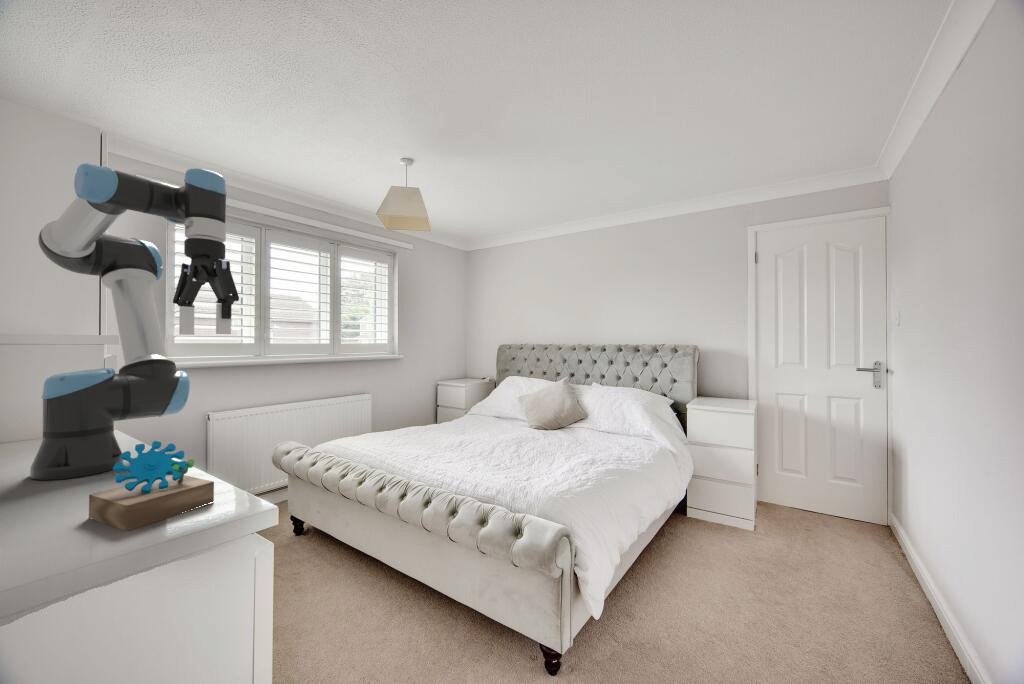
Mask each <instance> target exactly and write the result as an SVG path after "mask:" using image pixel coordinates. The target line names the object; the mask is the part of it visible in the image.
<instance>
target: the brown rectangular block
mask: <svg viewBox="0 0 1024 684" xmlns="http://www.w3.org/2000/svg"><path fill="white" fill-rule="evenodd" d="M172 476H173V475H166V476H165V478H166V480H167V481H168V483H169V484H168V487H167V488H164V489H159V483H160V482H161V481H162V480H160V479H158V480H156V481H155V482H154V483H153V484H152V486H151V491H150V492H149V493H144V492H141V487H142V486H143V485H145V484H148V483H147V482H146V481H145V482H143V483H140V484H138V485H137V486H136V487H135V488H134V489H133V490H132V491H128V490H127V489H126V488H125V485H123V486H119V487H118V486H117V487H114V488H110V489H106V490H102V491H101V490H100V491H98V492H94V493H89V495H88V519H90V518H92V519H91V520H93V519H94V520H93V521H96V520H97V521H96V522H99V523H102V524H105V525H106V526H107V525H108V526H111V527H113V528H116V529H119V530H122V531H125V532H128V531H131V530H135V529H137V528H141V527H143V526H147V525H150V524H153V523H157V522H159V521H163V520H165V519H166V520H167V519H169V518H172V517H175V516H174V515H176V516H178V515H177V514H179V515H181V514H180V513H182V512H185V511H188V510H191V509H194V508H196V507H199V506H202V505H204V504H208V503H210V502H213V501H214V502H215V482H214V481H213V480H210V479H209V480H207V479H204V478H199V477H195V476H190V475H187V474H186V475H185V474H184V478H183V479H178V480H176V481H174V480H173V479H172ZM194 510H195V509H194ZM191 511H192V510H191ZM188 512H189V511H188ZM185 513H186V512H185ZM182 514H183V513H182ZM171 516H172V517H171Z"/></svg>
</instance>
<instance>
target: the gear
mask: <svg viewBox="0 0 1024 684" xmlns="http://www.w3.org/2000/svg"><path fill="white" fill-rule="evenodd" d="M161 447H162V441H158V440H153V441H152V444H151V448H150V449H149V450H148V451H147V452H143V451H144V450H145V448H146V445H145V444H144V443H139V444H136V445H135V447H134V450H135V452H136V453H137V456H136V457H131V451H130V450H127V451H124V452H122V454H121V459H122V460H123V461H127V462H128V463H129V464H130V465H128V466H126V465H125V464H124V462H123V463H121V462H117V463H116V464H115V465H114V467H113V469H112V471H114V472H121V471H122V472H127V473H128V474H124V473H117V474H115V483H116V484H120V483H122V482H125V481H128V480H135V481H128V482H126V483H125V484H124V486H125V488H126V489H127V490H128V491H132V490H133V489H134V488H135V487H136V486H137V485H138V484H140V483H143V482H145V481H146V482H147V483H148V484H145V485H143V486H142V487H141V492H144V493H149V492H150V491H151V486H152V484H153V483H154V482H155V481H156V480H158V479H160V480H162V481H161V482H160V483H159V489H164V488H167V487H168V484H169V483H168V481H167V480H166V478H165V476H168V475H173V476H172V479H173V480H174V481H176V480H178V479H183V478H184V475H185V474H186V475H187V473H188V471H189V469H190V468H193V467H194V466H195V460H194V459H193V458H191V459H188V460H187V461H186V460H183V459H184V458H185V452H184V450H179V451H178V452H177V451H176V449H177V448H176V445H175V444H174V443H172V442H171V443H168V444H167V446H166V447H164V448H163V449H161V450H158V449H160V448H161ZM175 451H176V452H175ZM168 452H169V453H168ZM170 452H174V453H170ZM175 458H176V459H178V460H181V461H178V460H174V459H175Z"/></svg>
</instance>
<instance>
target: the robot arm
mask: <svg viewBox="0 0 1024 684" xmlns="http://www.w3.org/2000/svg"><path fill="white" fill-rule="evenodd" d="M183 182H184V185H183V186H180V187H179V186H176V185H171V184H168V183H165V182H161V181H158V180H157V181H156V180H152V179H148V178H146V177H142V176H138V175H134V174H130V173H127V172H124V171H119V170H115V169H112V168H110V167H108V166H101V165H96V164H93V163H88V162H87V163H81V164H80V165H79V166H78V167H77V169H76V172H75V174H74V180H73V184H74V186H73V187H74V192H75V194H76V197H75V199H74V200H73V201H72V202H71V203H70V204H69V205H68V207H67V208H66V209H65V210H64V211H63V212H62V214H61V215H60V216H59V217H58V218H57V220H52V221H50V222H48V223H46V224H45V225H44V226H43V228H42V229H41V230H40V231H39V234H38V238H37V239H38V246H39V248H40V250H41V252H42V253H43V254H44V255H45V257H46V258H47V259H49V261H50V262H53V264H55V265H57V266H58V267H60V268H62V269H64V270H67V271H70V272H73V273H76V274H82V275H89V276H99V277H100V278H101V283H102V285H103V286H104V287H106V288H108V289H109V290H110V291H111V297H112V302H113V307H114V312H115V317H116V318H115V319H116V323H117V329H118V334H119V339H120V343H121V345H120V346H121V348H122V349H121V350H122V354H123V361H124V364H123V365H122V366H120V367H119V368H118V373H116V371H115V369H114V368H111V367H107V368H106V367H105V368H95V369H92V368H91V369H84V370H76V371H68V372H63V373H58V374H53V375H51V376H49V377H47V378H46V379H45V380H44V383H43V387H42V389H43V390H42V395H41V399H42V440H41V444H40V446H39V448H38V450H37V452H36V454H35V456H34V459H33V461H32V464H31V466H30V469H29V470H30V471H29V473H30V475H29V478H30V479H32V480H36V479H37V480H42V481H46V480H47V481H48V480H49V481H50V480H52V481H53V480H63V479H73V478H79V477H85V476H91V475H95V474H101V473H104V472H108V471H111V470H112V471H113V467H114V465H115V464H116V463H117V462H121V463H123V464H124V460H122V459H121V454H122V453H123V452H122V450H121V449H122V448H121V447H120V444H119V443H118V440H117V438H116V436H115V432H114V431H115V428H114V427H115V426H114V425H115V422H119V421H127V420H136V419H145V418H153V417H155V418H156V417H158V418H159V417H163V416H169V415H175V414H177V413H180V412H181V411H182V410H183V409H184V407H185V406H186V405H187V402H188V399H189V395H190V389H191V386H190V385H191V382H190V376H189V375H188V372H187V371H185V370H181V369H180V370H177V366H176V363H175V361H173V360H172V359H171V358H170V359H169V358H168V357H167V352H166V348H165V343H164V340H163V334H162V329H161V325H160V320H159V316H158V311H157V307H156V301H155V297H154V291H153V287H154V286H155V285H156V284H157V281H159V280H160V279H161V277H162V275H163V271H164V270H163V263H164V262H163V258H162V255H161V252H160V250H159V249H158V248H157V246H156V245H155V244H153V243H152V242H149V241H146V240H141V239H138V238H135V237H132V238H128V237H124V236H117V235H113V234H106V233H105V232H106V231H107V230H108V229H109V228H110V227H111V226H112V225H113V224H114V223H115V222H116V221H117V220H119V218H120V217H121V216H122V215H123V214H125V212H126V211H127V210H128V211H134V212H137V213H138V212H139V213H143V214H147V215H152V216H157V217H161V218H164V219H165V220H166V221H168V222H170V223H172V224H176V225H177V224H178V225H184V237H186V238H185V240H184V247H183V248H184V251H183V252H184V256H186V257H187V258H190V259H191V260H190V263H186V262H183V263H181V267H180V268H181V269H180V275H179V279H178V282H177V286H176V289H175V291H174V295H173V299H172V303H173V304H175V305H177V306H178V307H179V322H178V323H179V324H178V325H179V327H178V328H179V329H178V330H179V335H186V336H189V335H190V336H195V307H196V306H195V304H194V302H195V300H196V298H197V296H198V295H199V292H200V290H201V288H202V286H204V285H205V284H207V283H208V284H209V287H210V288H211V289H212V292H213V294H214V295H215V298H216V302H215V303H216V304H215V308H216V310H215V334H216V335H232V305H233V304H234V302H239V300H240V297H239V293H238V289H237V288H236V284H235V280H234V279H233V275H232V272H231V271H232V270H231V262H230V260H225V259H226V244H225V242H226V241H227V240H226V237H227V236H226V235H227V234H226V231H227V230H226V228H227V227H226V216H227V215H226V210H227V209H226V208H227V206H226V204H227V203H226V202H227V194H228V193H227V191H226V188H227V187H226V180H225V178H224V177H223V175H221V174H219V173H217V172H215V171H214V170H209V169H205V168H198V167H197V168H195V167H193V168H189V169H187V170H186V171H185V173H184V179H183Z"/></svg>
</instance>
